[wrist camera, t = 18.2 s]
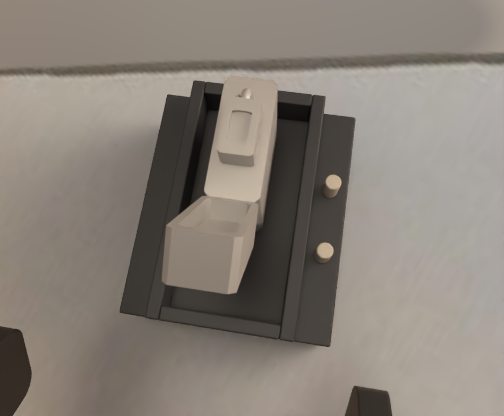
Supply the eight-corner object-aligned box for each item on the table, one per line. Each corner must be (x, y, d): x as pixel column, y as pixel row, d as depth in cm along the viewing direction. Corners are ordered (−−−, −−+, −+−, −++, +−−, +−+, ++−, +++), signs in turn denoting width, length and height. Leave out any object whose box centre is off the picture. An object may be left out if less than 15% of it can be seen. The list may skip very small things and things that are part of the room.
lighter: (235, 128, 19) (211, -4, 12) (277, 133, 19) (280, 3, 11) (205, 301, 18) (152, 281, 10) (250, 308, 18) (233, 293, 10)
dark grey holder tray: (140, 314, 21) (104, 311, 16) (180, 123, 23) (158, 75, 18) (321, 344, 20) (335, 349, 16) (345, 144, 22) (362, 100, 18)
